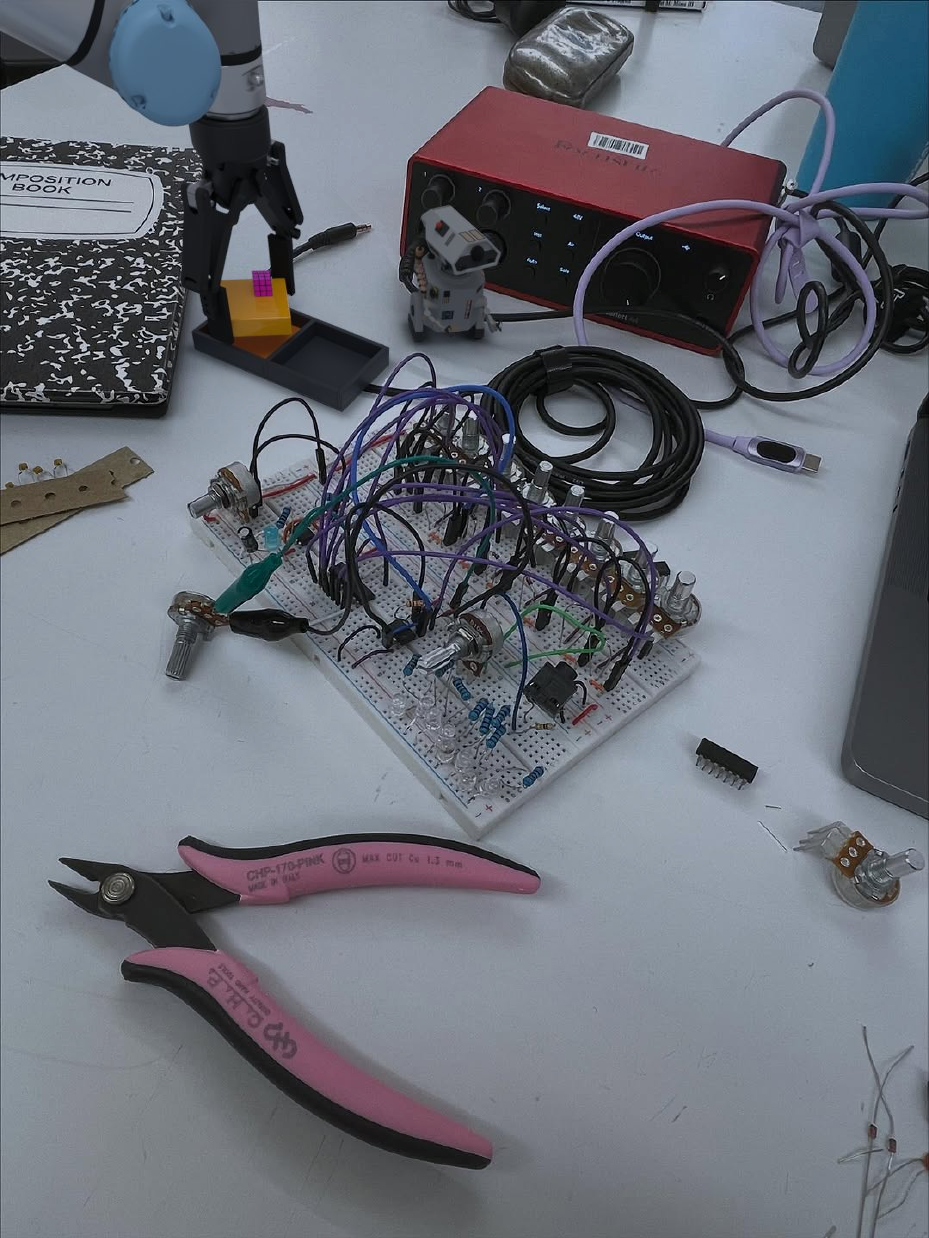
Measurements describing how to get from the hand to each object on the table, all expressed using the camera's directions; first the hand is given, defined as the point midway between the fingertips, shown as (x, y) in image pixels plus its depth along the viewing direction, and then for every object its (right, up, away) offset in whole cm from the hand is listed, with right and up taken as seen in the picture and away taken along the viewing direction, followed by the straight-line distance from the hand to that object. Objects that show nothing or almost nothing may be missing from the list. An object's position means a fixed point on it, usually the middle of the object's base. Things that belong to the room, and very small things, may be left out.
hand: (254, 314), depth 91 cm
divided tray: (+4, -4, +2) cm, 6 cm away
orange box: (0, 0, 0) cm, 0 cm away
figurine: (+22, -1, +7) cm, 24 cm away
